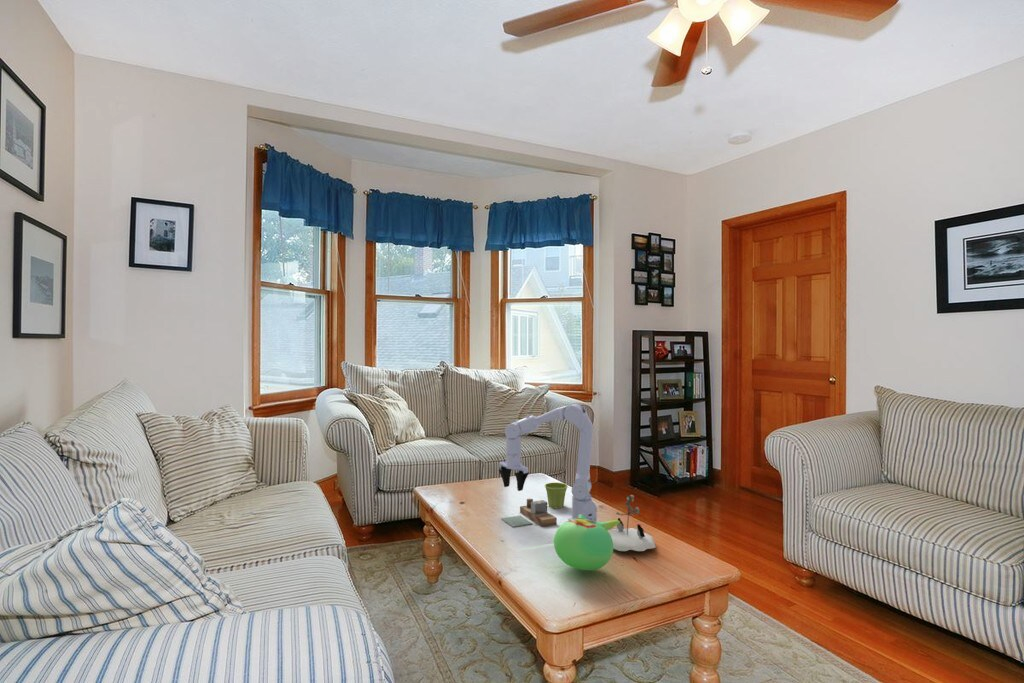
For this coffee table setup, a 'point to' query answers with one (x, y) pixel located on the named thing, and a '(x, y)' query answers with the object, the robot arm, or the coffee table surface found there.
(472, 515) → the coffee table surface
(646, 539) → the figurine
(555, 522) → the plane body
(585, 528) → the round green toy
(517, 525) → the mat
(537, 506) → the grey rectangular block
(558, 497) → the plant pot
